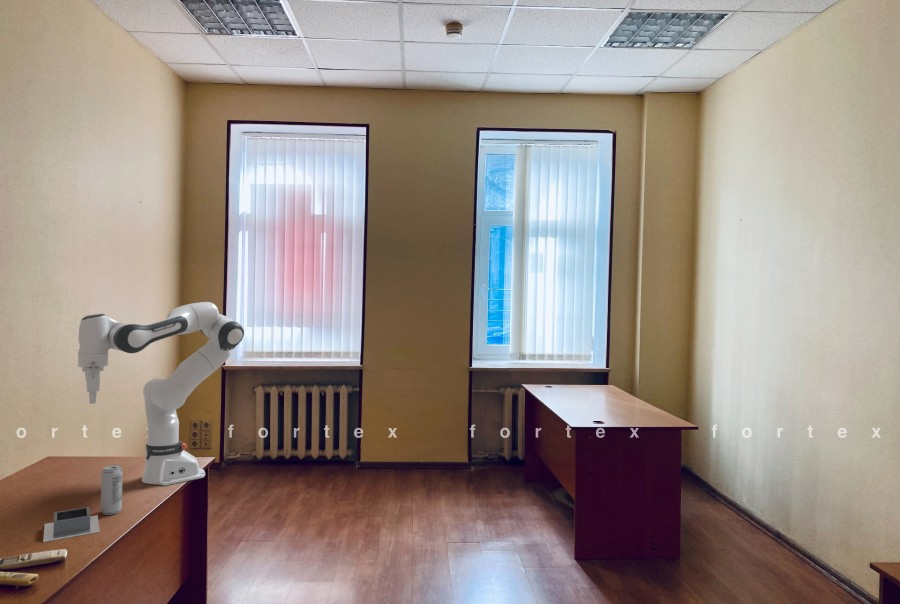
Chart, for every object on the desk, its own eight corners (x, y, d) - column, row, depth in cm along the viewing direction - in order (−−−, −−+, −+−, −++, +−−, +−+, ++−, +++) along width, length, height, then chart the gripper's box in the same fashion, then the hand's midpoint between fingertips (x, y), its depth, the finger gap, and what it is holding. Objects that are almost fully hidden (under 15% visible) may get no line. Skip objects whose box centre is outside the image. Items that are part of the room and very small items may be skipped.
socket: (97, 518, 185) (97, 502, 185) (99, 533, 173) (99, 517, 173) (44, 527, 177) (44, 511, 177) (43, 544, 165) (43, 526, 165)
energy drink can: (110, 508, 192) (111, 463, 192) (126, 509, 191) (126, 465, 191) (96, 514, 186) (97, 469, 186) (111, 516, 185) (112, 470, 185)
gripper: (104, 364, 189) (104, 405, 189) (102, 357, 206) (102, 395, 206) (82, 364, 186) (81, 407, 186) (82, 358, 203) (81, 397, 203)
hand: (92, 401), depth 196 cm, fingers open, 8 cm apart
